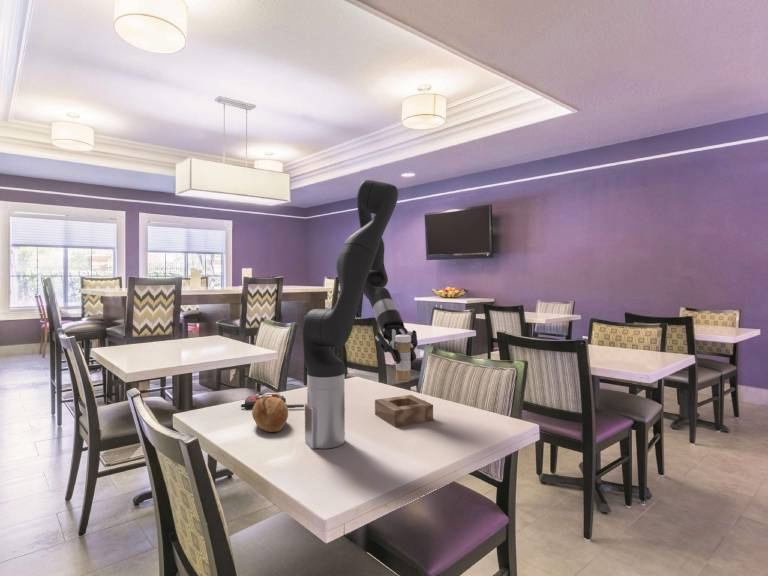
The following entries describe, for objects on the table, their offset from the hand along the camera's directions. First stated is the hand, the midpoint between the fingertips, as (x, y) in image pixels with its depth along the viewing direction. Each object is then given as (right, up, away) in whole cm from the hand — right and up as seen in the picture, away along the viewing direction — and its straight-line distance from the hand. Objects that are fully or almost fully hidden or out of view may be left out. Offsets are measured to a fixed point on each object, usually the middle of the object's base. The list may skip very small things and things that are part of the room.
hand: (406, 361), depth 129 cm
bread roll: (-38, -17, -6) cm, 42 cm away
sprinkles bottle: (-1, -6, +2) cm, 7 cm away
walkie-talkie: (-42, -17, +13) cm, 47 cm away
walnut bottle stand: (-1, -17, +2) cm, 17 cm away
